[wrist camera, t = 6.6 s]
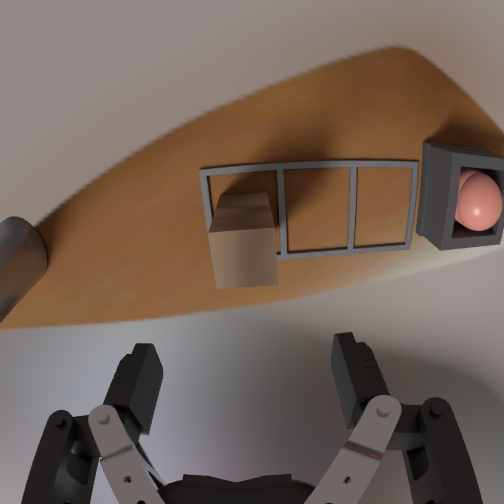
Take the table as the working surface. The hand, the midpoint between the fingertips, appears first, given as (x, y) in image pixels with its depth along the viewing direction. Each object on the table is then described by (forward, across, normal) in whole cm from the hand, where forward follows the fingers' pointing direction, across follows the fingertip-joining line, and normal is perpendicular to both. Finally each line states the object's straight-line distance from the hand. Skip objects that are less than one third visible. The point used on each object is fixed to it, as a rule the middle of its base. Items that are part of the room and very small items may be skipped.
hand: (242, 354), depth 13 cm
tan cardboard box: (+18, 0, 0) cm, 18 cm away
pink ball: (+17, -23, -2) cm, 29 cm away
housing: (+18, -23, -2) cm, 30 cm away
